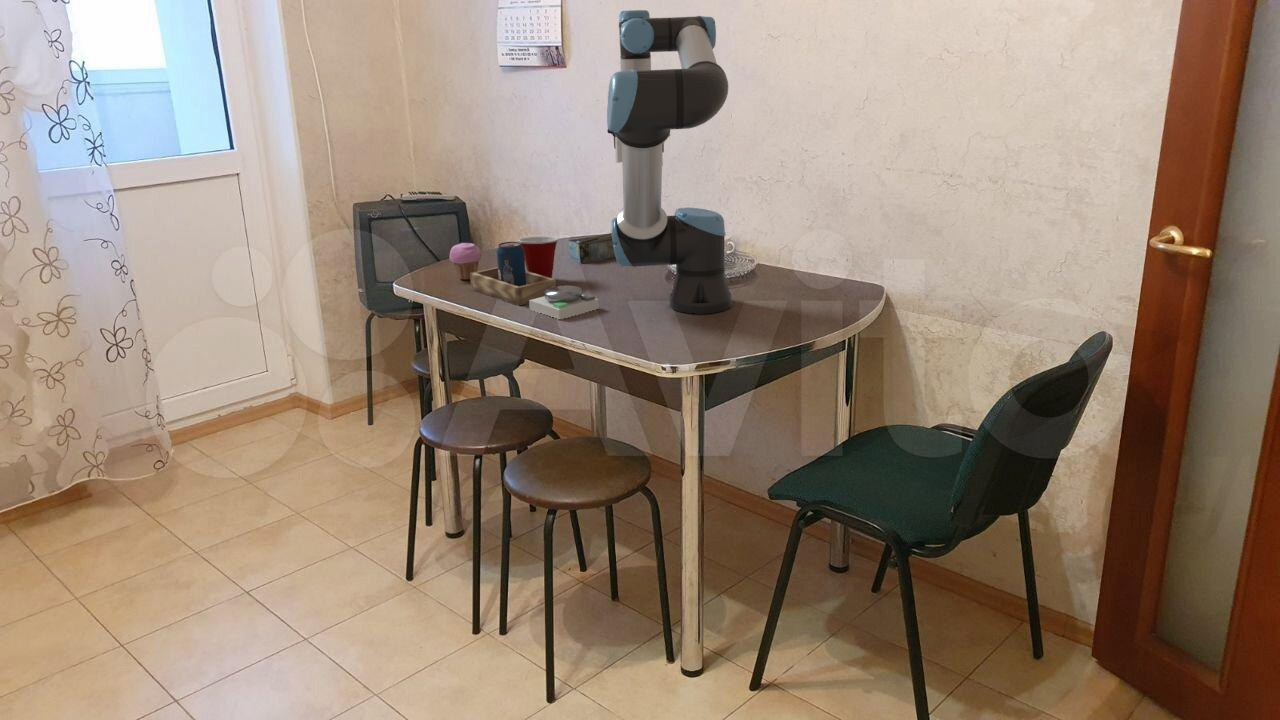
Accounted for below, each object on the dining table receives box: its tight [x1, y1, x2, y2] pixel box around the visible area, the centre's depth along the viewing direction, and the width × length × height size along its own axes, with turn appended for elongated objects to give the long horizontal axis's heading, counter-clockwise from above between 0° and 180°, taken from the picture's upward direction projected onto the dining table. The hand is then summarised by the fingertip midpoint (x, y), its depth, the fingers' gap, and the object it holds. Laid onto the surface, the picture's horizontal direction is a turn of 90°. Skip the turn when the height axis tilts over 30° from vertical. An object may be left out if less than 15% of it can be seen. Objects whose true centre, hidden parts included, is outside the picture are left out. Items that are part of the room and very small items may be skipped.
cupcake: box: [449, 242, 482, 281], centre depth 257 cm, size 9×9×10 cm
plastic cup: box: [517, 235, 559, 279], centre depth 252 cm, size 11×11×12 cm
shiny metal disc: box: [545, 285, 583, 302], centre depth 227 cm, size 9×9×2 cm
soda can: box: [496, 241, 526, 286], centre depth 241 cm, size 7×7×12 cm
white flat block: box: [528, 293, 600, 320], centre depth 227 cm, size 12×12×3 cm
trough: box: [469, 266, 556, 307], centre depth 243 cm, size 22×12×4 cm, turn 42°
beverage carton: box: [567, 232, 616, 264], centre depth 277 cm, size 8×19×7 cm, turn 121°
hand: (638, 164), depth 238 cm, fingers open, 13 cm apart
